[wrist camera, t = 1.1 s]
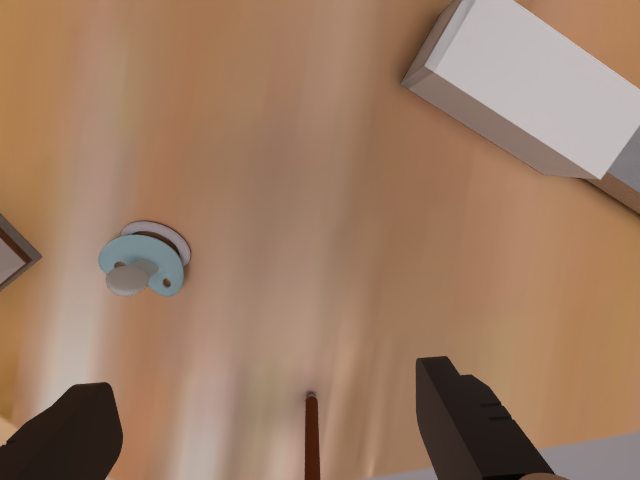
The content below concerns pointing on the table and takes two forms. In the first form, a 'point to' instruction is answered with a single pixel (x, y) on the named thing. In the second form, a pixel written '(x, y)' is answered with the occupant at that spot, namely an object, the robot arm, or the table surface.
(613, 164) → the steel tube
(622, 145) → the grey sleeve
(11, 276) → the grey notched tower
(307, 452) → the magnifying glass
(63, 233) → the table surface
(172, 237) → the pacifier
